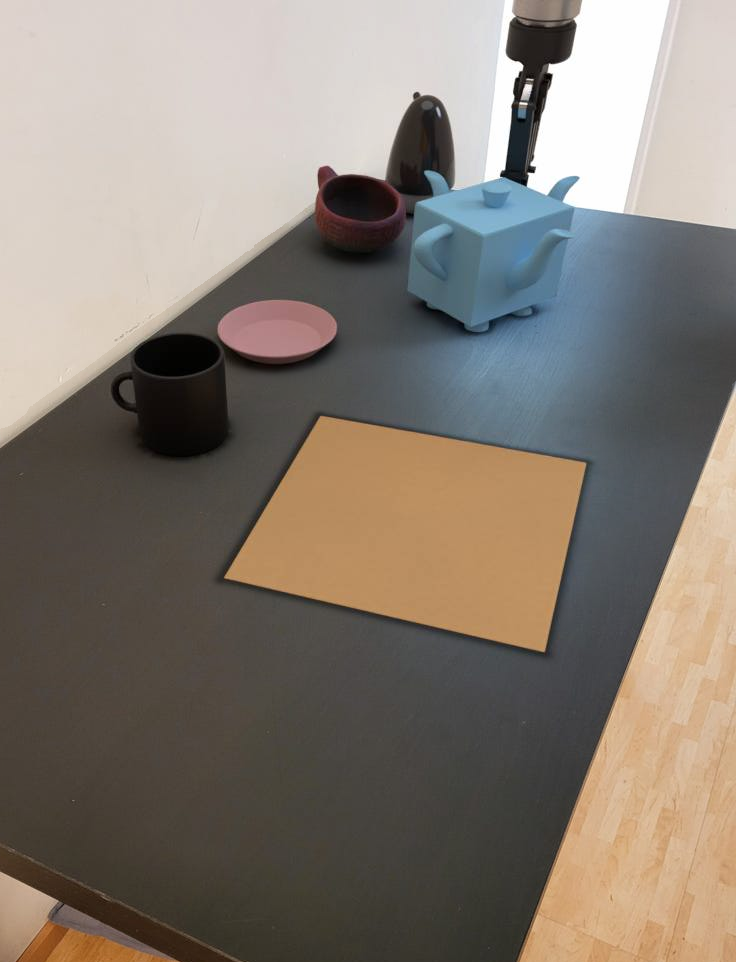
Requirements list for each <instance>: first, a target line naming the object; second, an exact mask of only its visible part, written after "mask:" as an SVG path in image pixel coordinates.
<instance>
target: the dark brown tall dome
mask: <svg viewBox="0 0 736 962" xmlns="http://www.w3.org/2000/svg"><path fill="white" fill-rule="evenodd" d="M412 99H413V100H412V101H411V103H410V104H409V105H408V106H407V108H406V110H405V112H404V113H403V115H402V118H401V120H400V122H399V123H398V127H397V129H396V132H395V135H394V138H393V141H392V145H391V149H390V152H389V157H388V159H387V160H388V161H387V165H386V170H385V177H384V178H385V179H384V182H386V183H388V184H389V185H391V186H392V187H393V188H394V189H395V190H397V191H398V193H399V194H400V195H401V196H402V199H403V201H404V205H405V211H406V214H411V215H414V212H415V204H416V203H417V202H420V201H423V200H426V199H430V198H433V197H434V196H433V190H432V187H431V184H430V182H429V180H428V179H427V177H426V176H425V174H424V171H433V172H436V173H438V174H440V175H441V176H442V177H443V178H444V179H445V181H446V183H447V185H448V187H449V191H450V192H452V189H453V188H454V187H455V183H456V154H455V153H456V152H455V143H454V136H453V129H452V125H451V120H450V117H449V114H448V111H447V109H446V106H445V104H444V103H443V102H442V101H441V99H440V98H438V97H437V96H434V95H431V94H424V95H421V92H419V91H415V92H414V93H413V94H412Z"/></svg>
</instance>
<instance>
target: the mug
mask: <svg viewBox="0 0 736 962" xmlns="http://www.w3.org/2000/svg"><path fill="white" fill-rule="evenodd" d="M130 353H131V354H130V357H129V362H130V369H129V370H126V371H122V372H120V373H119V374H117V375H116V376H115V377H114V378H113V380H112V382H111V385H110V395H111V397H112V399H113V401H114V402H115V404H116V405H117V406H118V407H120V408H121V409H123V410H125V411H127V412H131V413H134V414H136V415H137V422H138V423H137V424H138V429H139V436H140V439H141V441H143V443H144V444H145V445H146V446H147V447H148V448H149V449H151V450H152V451H154V452H157V453H159V454H163V455H167V456H175V457H176V456H177V457H181V456H183V457H187V456H193V455H199V454H202V453H205V452H208V451H211V450H212V449H214V448H216V447H217V446H218V445H220V444H221V443H222V442H223V441H224V440H225V438H226V436H227V434H228V431H229V414H228V398H227V397H228V396H227V379H226V378H227V377H226V361H225V360H226V359H225V351H224V348H223V346H222V345H221V344H220V343H219V342H218V341H217V340H216V339H214V338H212V337H210V336H208V335H204V334H201V333H196V332H169V333H163V334H159V335H154V336H152V337H150V338H148V339H146V340H143V341H142V342H140V343H139V344H138V345H136V346H135V347H134V348H133V350H132V351H131V352H130ZM128 380H129V381H132V385H133V393H134V402H130V401H127V400H126V399H125V398H124V397H123V396H122V394H121V391H120V386H121V384H123V382H125V381H128Z"/></svg>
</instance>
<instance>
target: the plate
mask: <svg viewBox="0 0 736 962" xmlns="http://www.w3.org/2000/svg"><path fill="white" fill-rule="evenodd" d="M337 333H338V324H337V321H336V319H335V318H334V317H333V316H332V315H331V314H330V313H329V312H328V311H327V310H325V309H323V308H321V307H318V306H317V305H314V304H311V303H307V302H305V301H304V302H303V301H298V300H291V299H270V300H259V301H254V302H252V303H248V304H244V305H241V306H238V307H237V308H234V309H232V310H230V311H229V312H228V313H226V314H225V315H223V317H222V318H221V320H220V321H219V322H218V325H217V336H218V337H219V340H221V342H222V343H223V344H224V345H226V346H227V347H228V348H230V349H231V350H232V351H234V352H235V353H236V354H238V355H240V356H241V357H243V358H244V359H247V360H249V361H252V362H255V363H259V364H260V363H262V364H266V365H267V364H268V365H269V364H270V365H283V364H284V365H285V364H292V363H297V362H300V361H303V360H306V359H308V358H310V357H312V356H314V355H315V354H317V353H318V352H319V351H320V350H322V349H323V348H324V347H326V346H327V345H329V343H331V342H332V341H333V339H334V338H335V337H336V335H337Z"/></svg>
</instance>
